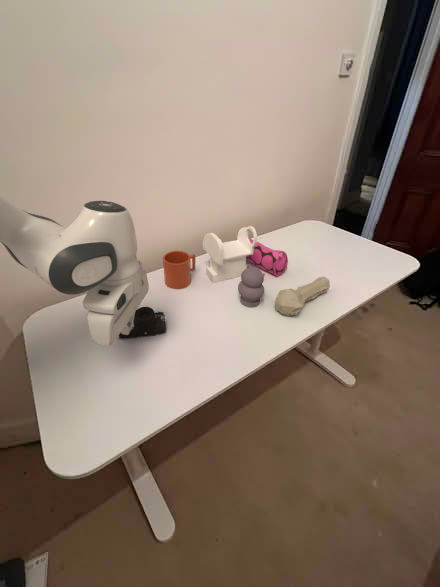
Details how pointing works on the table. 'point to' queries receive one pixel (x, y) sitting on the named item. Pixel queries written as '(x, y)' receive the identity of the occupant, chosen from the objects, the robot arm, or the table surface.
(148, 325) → the film camera
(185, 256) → the mug
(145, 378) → the table surface
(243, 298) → the cat figurine
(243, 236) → the tape dispenser
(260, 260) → the pencil case
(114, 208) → the robot arm
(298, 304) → the faceted club
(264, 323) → the table surface
